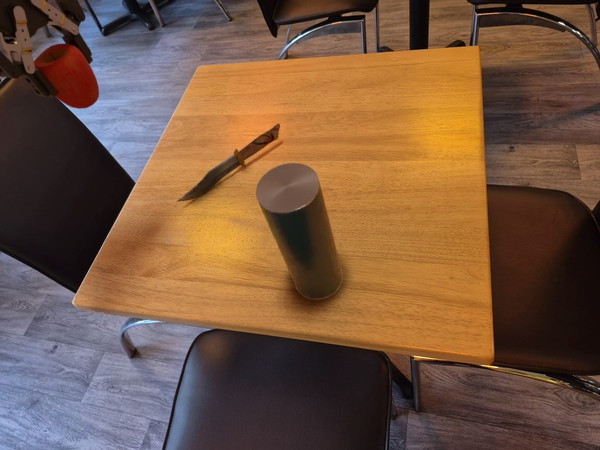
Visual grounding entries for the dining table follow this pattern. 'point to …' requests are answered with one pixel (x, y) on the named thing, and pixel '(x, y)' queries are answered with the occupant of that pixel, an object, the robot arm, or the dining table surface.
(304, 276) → the tin can
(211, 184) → the knife
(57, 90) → the apple
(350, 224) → the dining table surface
